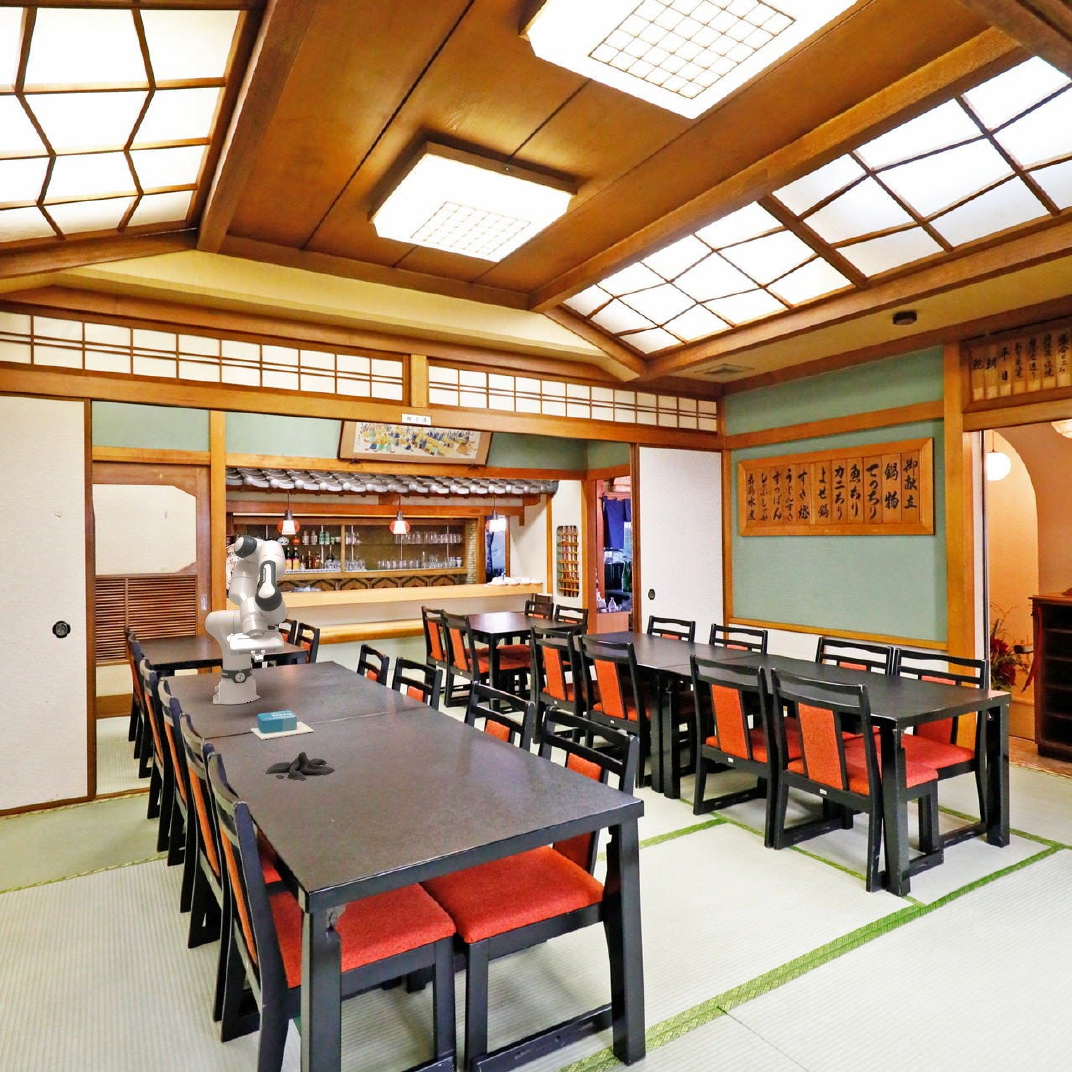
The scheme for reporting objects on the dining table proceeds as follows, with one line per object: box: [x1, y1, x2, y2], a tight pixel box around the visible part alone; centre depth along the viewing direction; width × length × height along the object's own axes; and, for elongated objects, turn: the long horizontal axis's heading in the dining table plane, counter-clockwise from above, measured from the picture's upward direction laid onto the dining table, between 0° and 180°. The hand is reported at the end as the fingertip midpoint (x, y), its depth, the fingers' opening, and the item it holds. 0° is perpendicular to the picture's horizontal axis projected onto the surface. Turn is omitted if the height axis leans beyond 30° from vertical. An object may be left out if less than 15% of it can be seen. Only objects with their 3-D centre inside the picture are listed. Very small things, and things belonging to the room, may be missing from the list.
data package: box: [256, 710, 298, 733], centre depth 251 cm, size 12×4×12 cm
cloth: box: [265, 751, 336, 782], centre depth 203 cm, size 22×19×6 cm
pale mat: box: [249, 721, 315, 741], centre depth 248 cm, size 16×18×1 cm
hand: (259, 661), depth 267 cm, fingers closed
